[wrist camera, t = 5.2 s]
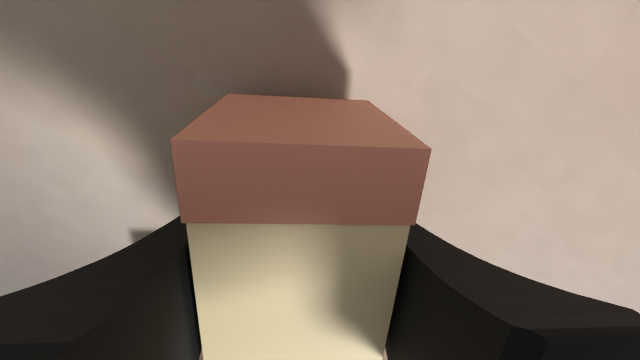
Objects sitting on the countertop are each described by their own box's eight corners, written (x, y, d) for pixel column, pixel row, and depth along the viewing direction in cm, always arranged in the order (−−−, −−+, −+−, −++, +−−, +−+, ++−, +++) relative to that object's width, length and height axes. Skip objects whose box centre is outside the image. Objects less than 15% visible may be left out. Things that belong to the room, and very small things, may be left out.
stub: (344, 290, 13) (372, 421, 9) (238, 291, 13) (209, 430, 8) (367, 100, 10) (431, 148, 6) (227, 93, 10) (169, 139, 5)
